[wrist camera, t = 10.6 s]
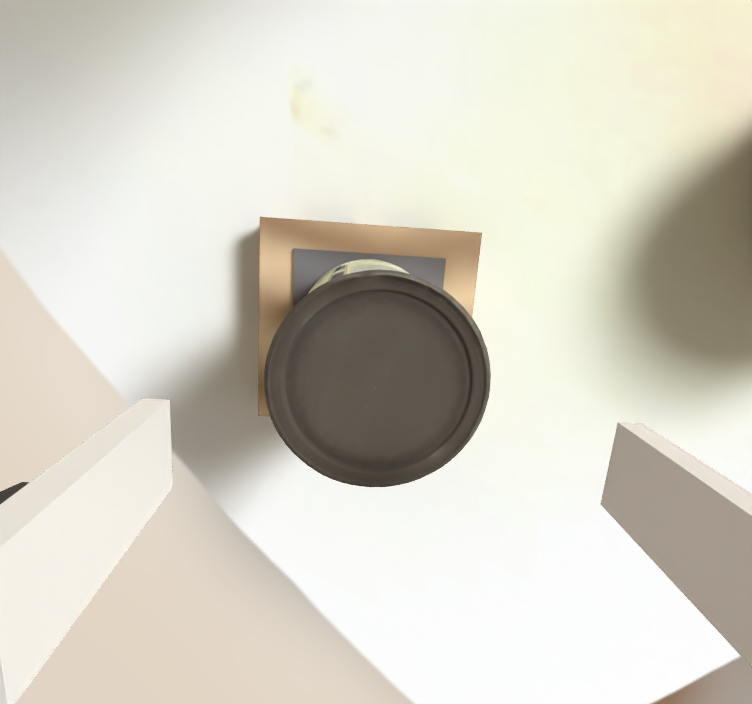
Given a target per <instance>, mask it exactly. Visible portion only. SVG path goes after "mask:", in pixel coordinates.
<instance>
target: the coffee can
mask: <svg viewBox="0 0 752 704" xmlns="http://www.w3.org/2000/svg"><path fill="white" fill-rule="evenodd" d="M490 377H491V374H490V363H489V357H488V352H487V348H486V345H485V343H484V340H483V337H482V335H481V332H480V330H479V328H478V327H477V325H476V323H475V322H474V320H473V318H472V317H471V316H470V315H469V313H468V312H467V311H466V309H465V308H464V307H463V306H462V305H461V304H460V303H459V302H458V301H457V300H456V299H455V298H454V297H452V296H451V295H450V294H449V293H448V292H446V291H445V290H443V289H442V288H440V287H439V286H437V285H435V284H433V283H431V282H429V281H427V280H425V279H423V278H420V277H417V276H414V275H411V274H409V273H408V272H406V271H405V270H403V269H402V268H400V267H398V266H396V265H393V264H391V263H388V262H384V261H379V260H375V259H368V260H364V259H362V260H355V261H350V262H347V263H344V264H341V265H339V266H337V267H335V268H333V269H331V270H330V271H328V272H327V273H325V274H324V275H323V276H322V277H321V278H320V279H319V280H318V281H317V282H316V283H315V284H314V286H313V287H312V288H311V290H310V291H309V293H308V295H306V296H305V297H304V298H302V299H301V300H300V301H299V302H298V303H297V304H296V305H295V306H294V308H293V309H292V310H291V311H290V312H289V313H288V314H287V316H286V317H285V318H284V320H283V321H282V323H281V324H280V326H279V328H278V329H277V331H276V333H275V335H274V337H273V339H272V342H271V345H270V347H269V351H268V354H267V358H266V363H265V371H264V388H265V397H266V403H267V407H268V411H269V414H270V417H271V419H272V422H273V424H274V426H275V428H276V430H277V432H278V434H279V435H280V437H281V438H282V439H283V441H284V442H285V444H286V445H287V446H288V447H289V448H290V449H291V451H292V452H293V453H294V454H295V455H296V456H297V457H298V458H300V459H301V460H302V461H303V462H304V463H306V464H307V465H308V466H309V467H311V468H312V469H314V470H315V471H317V472H319V473H320V474H322V475H324V476H327V477H329V478H331V479H333V480H336V481H339V482H342V483H347V484H351V485H357V486H365V487H388V486H395V485H400V484H404V483H409V482H412V481H415V480H417V479H420V478H422V477H424V476H426V475H428V474H430V473H432V472H434V471H436V470H438V469H440V468H441V467H443V466H444V465H445V464H446V463H448V462H449V461H450V460H451V459H453V458H454V457H455V456H456V455H457V454H458V453H459V452H460V451H461V450H462V449H463V448H464V446H465V445H466V444H467V443H468V442H469V440H470V439H471V437H472V436H473V434H474V433H475V431H476V429H477V428H478V426H479V424H480V422H481V419H482V417H483V414H484V412H485V409H486V405H487V402H488V398H489V391H490Z"/></svg>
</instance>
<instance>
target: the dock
mask: <svg viewBox="0 0 752 704" xmlns="http://www.w3.org/2000/svg"><path fill="white" fill-rule="evenodd" d="M481 237H482V233H478V232H464V231H450V230H436V229H422V228H408V227H394V226H380V225H366V224H352V223H338V222H324V221H310V220H296V219H282V218H268V217H260V271H259V407H258V416H270V414H269V411H268V407H267V403H266V397H265V388H264V371H265V363H266V358H267V354H268V351H269V347H270V345H271V342H272V339H273V337H274V335H275V333H276V331H277V329H278V328H279V326H280V324H281V323H282V321H283V320H284V318H285V317H286V316H287V314H288V313H289V312H290V311H291V310H292V309H293V308H294V306H295V305H296V304H297V303H298V302H299V301H300V300H301V299H302V298H304V297H305V296H306V295H308V293H309V291H310V290H311V288H312V287H313V286H314V284H315V283H316V282H317V281H318V280H319V279H320V278H321V277H322V276H323V275H324V274H325V273H327V272H328V271H330V270H331V269H333V268H335V267H337V266H339V265H341V264H344V263H347V262H350V261H355V260H362V259H364V260H368V259H375V260H379V261H384V262H388V263H391V264H393V265H396V266H398V267H400V268H402V269H403V270H405V271H406V272H408V273H409V274H411V275H414V276H417V277H420V278H423V279H425V280H427V281H429V282H431V283H433V284H435V285H437V286H439V287H440V288H442V289H443V290H445V291H446V292H448V293H449V294H450V295H451V296H452V297H454V298H455V299H456V300H457V301H458V302H459V303H460V304H461V305H462V306H463V307H464V308H465V309H466V311H467V312H468V313H469V315H470V316H471V317H472V313H473V305H474V296H475V288H476V279H477V271H478V262H479V254H480V245H481Z"/></svg>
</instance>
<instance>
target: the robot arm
mask: <svg viewBox="0 0 752 704" xmlns="http://www.w3.org/2000/svg"><path fill="white" fill-rule="evenodd" d="M172 488H173V472H172V446H171V420H170V400H164V399H145V398H142V399H140V400H139V401H138V402H136V403H135V404H134V405H132V406H131V407H130V408H128V409H127V410H126V411H125V412H123V413H122V414H120V415H119V416H118V417H116V418H115V419H114V420H113V421H111V422H110V423H108V424H107V425H106V426H104V427H103V428H102V429H100V430H99V431H98V432H96V433H95V434H94V435H92V436H91V437H90V438H88V439H87V440H86V441H84V442H83V443H82V444H80V445H79V446H78V447H76V448H75V449H74V450H72V451H71V452H70V453H68V454H67V455H66V456H65V457H63V458H62V459H60V460H59V461H58V462H56V463H55V464H54V465H53V466H51V467H50V468H49V469H47V470H46V471H44V472H43V473H42V474H40V475H39V476H38V477H36V478H35V479H34V480H32V481H31V482H30V483H27V482H21V483H19V484H17V485H14V486H12V487H10V488H8V489H6V490H3V491H1V492H0V704H16V702H17V701H18V699H19V698H20V697H21V695H22V694H23V693H24V691H25V690H26V688H27V687H28V686H29V684H30V683H31V682H32V680H33V679H34V677H35V676H36V675H37V673H38V672H39V671H40V669H41V668H42V666H43V665H44V663H45V662H46V661H47V660H48V658H49V657H50V655H51V654H52V653H53V651H54V650H55V649H56V647H57V646H58V645H59V643H60V642H61V640H62V639H63V638H64V636H65V635H66V634H67V632H68V631H69V629H70V628H71V627H72V625H73V624H74V623H75V621H76V620H77V619H78V617H79V616H80V614H81V613H82V612H83V610H84V609H85V607H86V606H87V605H88V603H89V602H90V600H91V599H92V598H93V597H94V595H95V594H96V592H97V591H98V590H99V588H100V587H101V586H102V584H103V583H104V581H105V580H106V579H107V577H108V576H109V575H110V573H111V572H112V571H113V569H114V568H115V566H116V565H117V564H118V562H119V561H120V560H121V558H122V557H123V555H124V554H125V553H126V551H127V550H128V549H129V547H130V546H131V544H132V543H133V542H134V540H135V539H136V538H137V536H138V535H139V534H140V532H141V531H142V529H143V528H144V527H145V525H146V524H147V522H148V521H149V520H150V518H151V517H152V516H153V514H154V513H155V512H156V510H157V509H158V507H159V506H160V505H161V503H162V502H163V501H164V499H165V498H166V496H167V495H168V494H169V492H170V491H171V490H172ZM601 505H602V506H603V507H604V508H605V509H606V511H607V512H608V513H609V514H610V515H611V516H612V517H613V518H614V519H615V520H616V521H617V522H618V523H619V525H620V526H621V527H622V528H623V529H624V530H625V531H626V532H627V533H628V534H629V535H630V536H631V537H632V539H633V540H634V541H635V542H636V543H637V544H638V545H639V546H640V547H641V548H642V549H643V550H644V552H645V553H646V554H647V555H648V556H649V557H650V558H651V559H652V560H653V561H654V562H655V563H656V564H657V566H658V567H659V568H660V569H661V570H662V571H663V572H664V573H665V574H666V575H667V576H668V577H669V579H670V580H671V581H672V582H673V583H674V584H675V585H676V586H677V587H678V588H679V589H680V590H681V591H682V593H683V594H684V595H685V596H686V597H687V598H688V599H689V600H690V601H691V602H692V603H693V604H694V606H695V607H696V608H697V609H698V610H699V611H700V612H701V613H702V614H703V615H704V616H705V617H706V618H707V620H708V621H709V622H710V623H711V624H712V625H713V626H714V627H715V628H716V629H717V630H718V631H719V633H720V634H721V635H722V636H723V637H724V638H725V639H726V640H727V641H728V642H729V643H730V644H731V645H732V647H733V648H734V649H735V650H736V651H737V652H738V653H739V654H740V655H741V656H742V657H743V658H744V659H745V661H746V662H747V663H748V664H749V665H750V666H751V667H752V494H751V493H750V492H748V491H746V490H745V489H743V488H742V487H740V486H739V485H737V484H736V483H734V482H732V481H731V480H729V479H728V478H726V477H725V476H723V475H722V474H720V473H718V472H717V471H715V470H714V469H712V468H711V467H709V466H708V465H706V464H704V463H703V462H701V461H700V460H698V459H697V458H695V457H694V456H692V455H690V454H689V453H687V452H686V451H684V450H683V449H681V448H680V447H678V446H676V445H675V444H673V443H672V442H670V441H669V440H667V439H666V438H664V437H662V436H661V435H659V434H658V433H656V432H655V431H653V430H652V429H650V428H648V427H647V426H645V425H644V424H640V423H620V422H618V424H617V429H616V434H615V438H614V443H613V448H612V453H611V457H610V462H609V467H608V472H607V476H606V481H605V486H604V491H603V495H602V500H601Z"/></svg>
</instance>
